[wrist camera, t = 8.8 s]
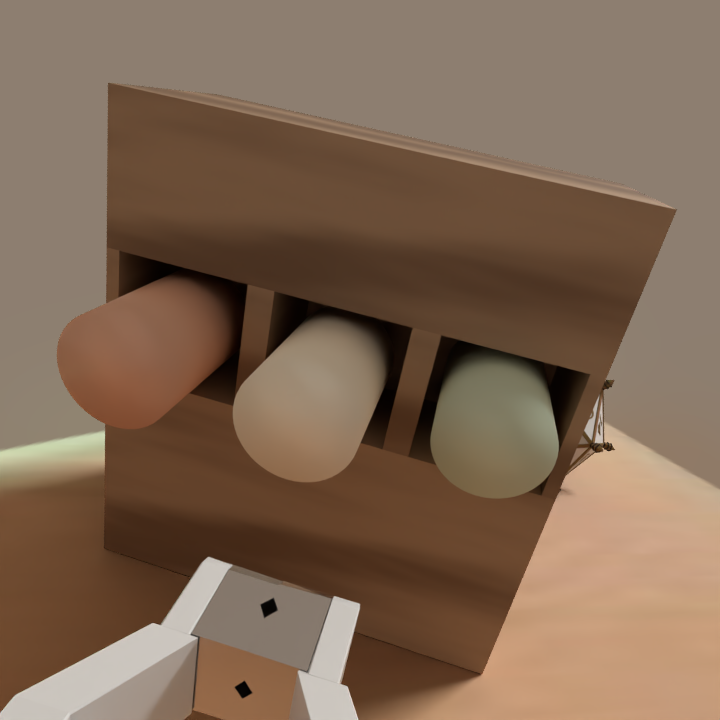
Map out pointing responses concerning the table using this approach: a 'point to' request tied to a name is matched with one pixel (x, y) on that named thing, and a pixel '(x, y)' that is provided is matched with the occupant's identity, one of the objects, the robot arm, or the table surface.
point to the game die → (592, 433)
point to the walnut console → (399, 318)
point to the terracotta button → (150, 347)
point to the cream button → (314, 395)
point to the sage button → (494, 422)
